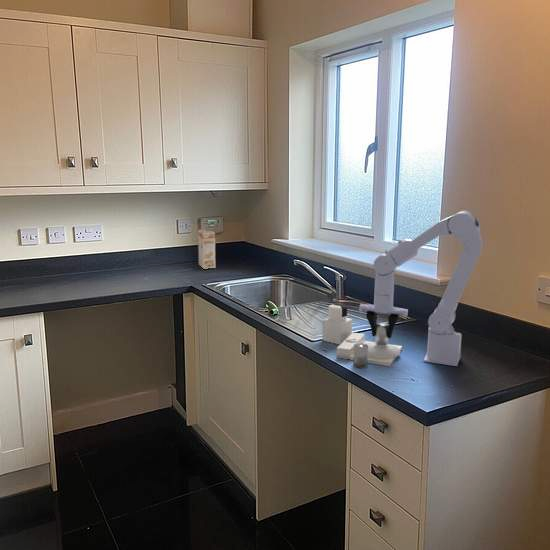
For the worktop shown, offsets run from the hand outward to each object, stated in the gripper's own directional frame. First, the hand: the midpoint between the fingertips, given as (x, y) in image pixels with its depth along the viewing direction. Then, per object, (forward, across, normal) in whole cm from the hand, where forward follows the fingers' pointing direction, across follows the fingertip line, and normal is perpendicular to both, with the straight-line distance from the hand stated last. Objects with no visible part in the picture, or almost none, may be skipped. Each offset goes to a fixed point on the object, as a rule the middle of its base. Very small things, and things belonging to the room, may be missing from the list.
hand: (382, 336), depth 173 cm
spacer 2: (+2, 0, 0) cm, 2 cm away
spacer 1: (+5, +2, +15) cm, 16 cm away
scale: (+5, +2, +4) cm, 7 cm away
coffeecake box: (+5, +116, -90) cm, 147 cm away
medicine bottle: (+5, +16, -4) cm, 17 cm away
